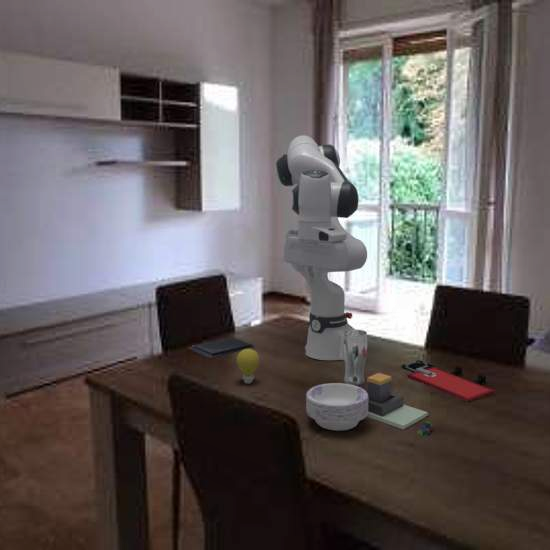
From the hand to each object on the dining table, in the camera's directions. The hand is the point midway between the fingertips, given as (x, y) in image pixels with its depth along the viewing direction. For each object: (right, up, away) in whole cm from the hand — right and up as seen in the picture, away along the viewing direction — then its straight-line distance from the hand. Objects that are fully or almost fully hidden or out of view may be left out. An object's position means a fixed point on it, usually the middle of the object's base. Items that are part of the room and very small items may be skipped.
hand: (314, 282), depth 163 cm
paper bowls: (+5, -35, -15) cm, 38 cm away
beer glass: (+13, -29, +13) cm, 35 cm away
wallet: (-29, -24, +45) cm, 59 cm away
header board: (+16, -33, -7) cm, 38 cm away
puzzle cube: (+26, -36, -19) cm, 48 cm away
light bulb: (-19, -30, +13) cm, 37 cm away
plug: (+16, -32, -7) cm, 37 cm away
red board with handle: (+39, -30, +14) cm, 51 cm away
